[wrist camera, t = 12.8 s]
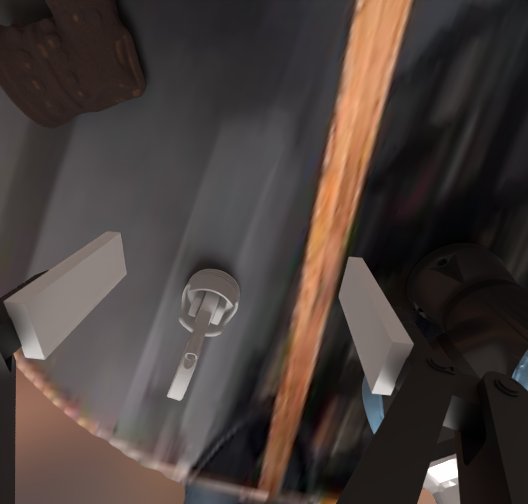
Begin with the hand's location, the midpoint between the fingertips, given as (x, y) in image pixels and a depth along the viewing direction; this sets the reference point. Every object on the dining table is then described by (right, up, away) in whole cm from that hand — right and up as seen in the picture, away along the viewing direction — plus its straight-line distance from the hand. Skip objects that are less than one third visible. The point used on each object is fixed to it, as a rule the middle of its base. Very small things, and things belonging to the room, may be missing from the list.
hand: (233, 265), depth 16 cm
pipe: (-22, +27, +20) cm, 40 cm away
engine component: (-8, -7, +36) cm, 38 cm away
